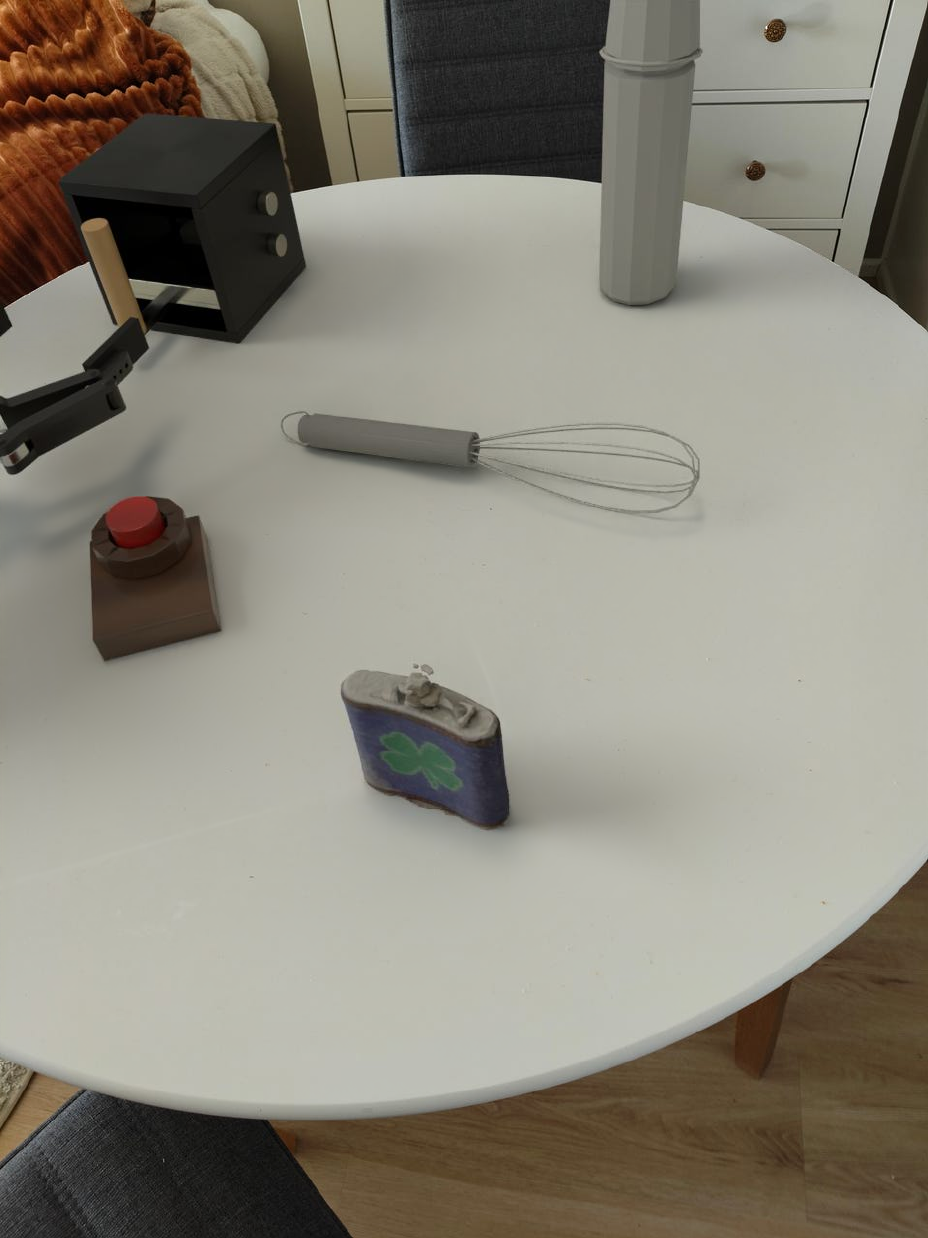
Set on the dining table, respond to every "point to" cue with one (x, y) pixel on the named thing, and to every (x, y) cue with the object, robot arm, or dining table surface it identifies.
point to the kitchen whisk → (456, 446)
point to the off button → (135, 522)
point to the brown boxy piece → (152, 587)
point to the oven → (196, 212)
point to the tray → (152, 273)
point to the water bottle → (645, 144)
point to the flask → (428, 745)
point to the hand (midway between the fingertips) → (69, 321)
